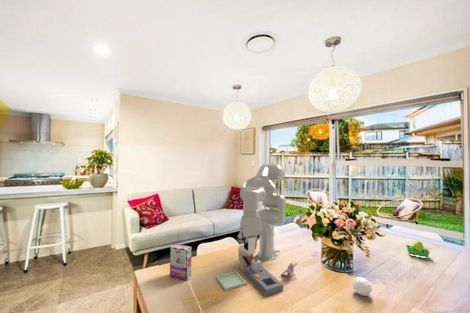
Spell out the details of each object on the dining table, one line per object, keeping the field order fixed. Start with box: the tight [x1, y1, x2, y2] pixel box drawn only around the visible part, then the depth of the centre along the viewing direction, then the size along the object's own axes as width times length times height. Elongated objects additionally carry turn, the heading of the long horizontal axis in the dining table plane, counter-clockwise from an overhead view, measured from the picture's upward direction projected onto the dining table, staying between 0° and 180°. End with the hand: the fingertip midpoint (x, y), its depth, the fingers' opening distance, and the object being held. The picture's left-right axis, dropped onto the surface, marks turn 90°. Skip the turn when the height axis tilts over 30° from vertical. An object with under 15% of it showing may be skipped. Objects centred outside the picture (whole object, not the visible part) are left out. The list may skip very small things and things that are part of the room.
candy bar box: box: [169, 243, 193, 281], centre depth 113 cm, size 11×5×16 cm, turn 70°
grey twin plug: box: [251, 256, 262, 274], centre depth 113 cm, size 4×4×10 cm
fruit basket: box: [405, 240, 431, 257], centre depth 140 cm, size 11×9×11 cm
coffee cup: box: [237, 244, 254, 271], centre depth 122 cm, size 9×9×12 cm
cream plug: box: [245, 236, 256, 254], centre depth 105 cm, size 4×4×10 cm
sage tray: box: [216, 270, 247, 292], centre depth 108 cm, size 12×12×2 cm
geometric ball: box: [352, 276, 373, 297], centre depth 99 cm, size 8×8×8 cm
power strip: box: [243, 265, 284, 297], centre depth 108 cm, size 22×10×4 cm, turn 26°
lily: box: [281, 261, 299, 280], centre depth 112 cm, size 12×12×10 cm
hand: (250, 248), depth 105 cm, fingers closed on cream plug, 4 cm apart
